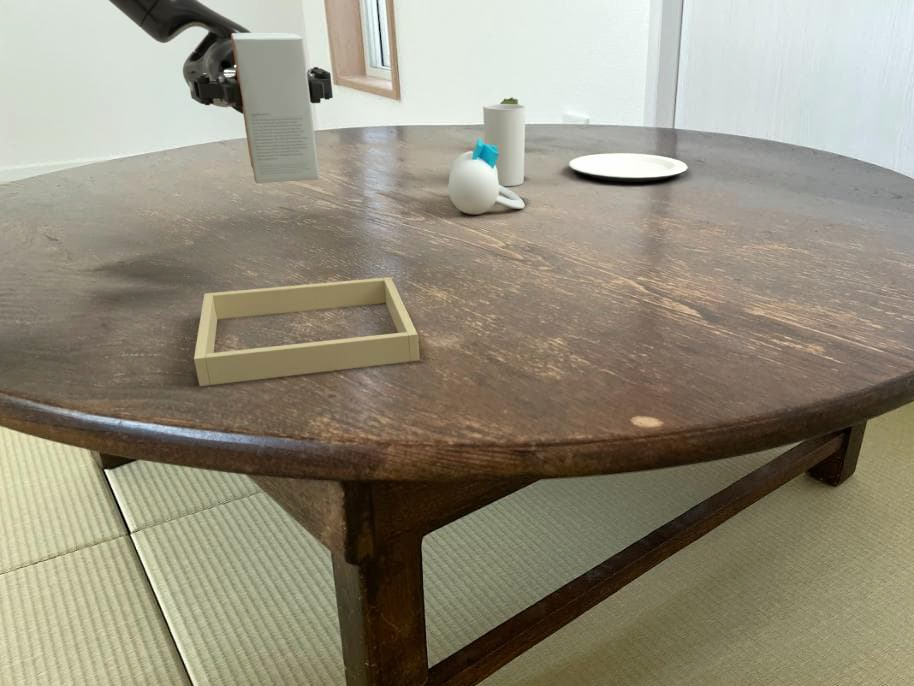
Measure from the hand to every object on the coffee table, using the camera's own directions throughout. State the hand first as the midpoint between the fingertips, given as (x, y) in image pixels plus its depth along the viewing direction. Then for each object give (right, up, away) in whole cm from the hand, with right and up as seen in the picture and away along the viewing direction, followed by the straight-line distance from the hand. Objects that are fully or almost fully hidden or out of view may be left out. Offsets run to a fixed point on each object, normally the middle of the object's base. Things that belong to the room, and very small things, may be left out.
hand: (277, 93), depth 77 cm
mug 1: (+19, +8, +58) cm, 61 cm away
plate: (+41, +11, +64) cm, 77 cm away
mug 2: (+18, -1, +41) cm, 44 cm away
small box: (-1, -6, +6) cm, 9 cm away
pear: (+19, +20, +82) cm, 87 cm away
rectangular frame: (+4, -24, -4) cm, 25 cm away
